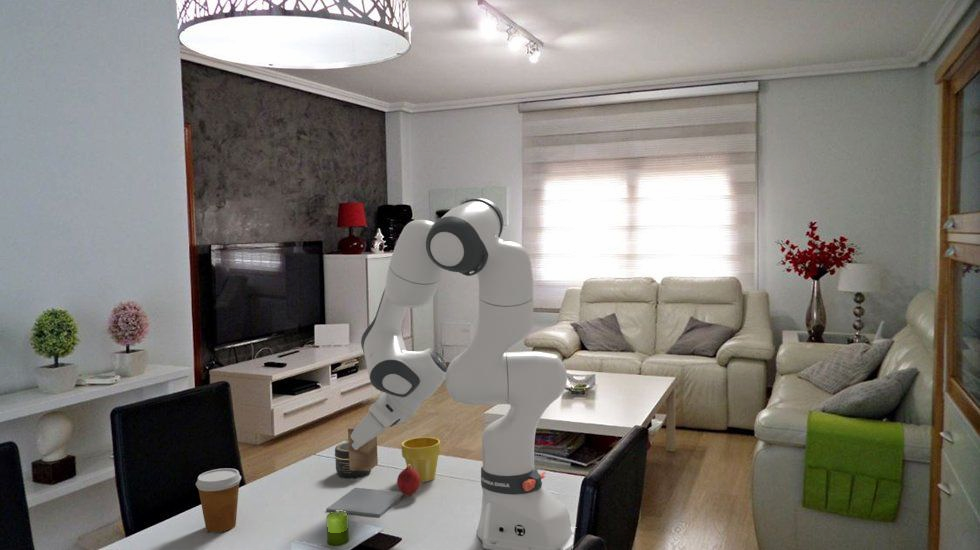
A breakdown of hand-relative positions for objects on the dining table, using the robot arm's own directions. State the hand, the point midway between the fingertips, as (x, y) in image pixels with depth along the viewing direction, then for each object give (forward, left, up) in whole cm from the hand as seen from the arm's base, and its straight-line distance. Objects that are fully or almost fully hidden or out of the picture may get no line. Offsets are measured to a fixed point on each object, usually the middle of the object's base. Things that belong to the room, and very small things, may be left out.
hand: (361, 442), depth 166 cm
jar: (+17, -15, -15) cm, 27 cm away
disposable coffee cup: (+18, +26, -15) cm, 36 cm away
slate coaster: (-1, -1, -15) cm, 15 cm away
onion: (-7, -9, -15) cm, 19 cm away
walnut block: (0, 0, -6) cm, 6 cm away
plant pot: (-2, -21, -15) cm, 26 cm away
